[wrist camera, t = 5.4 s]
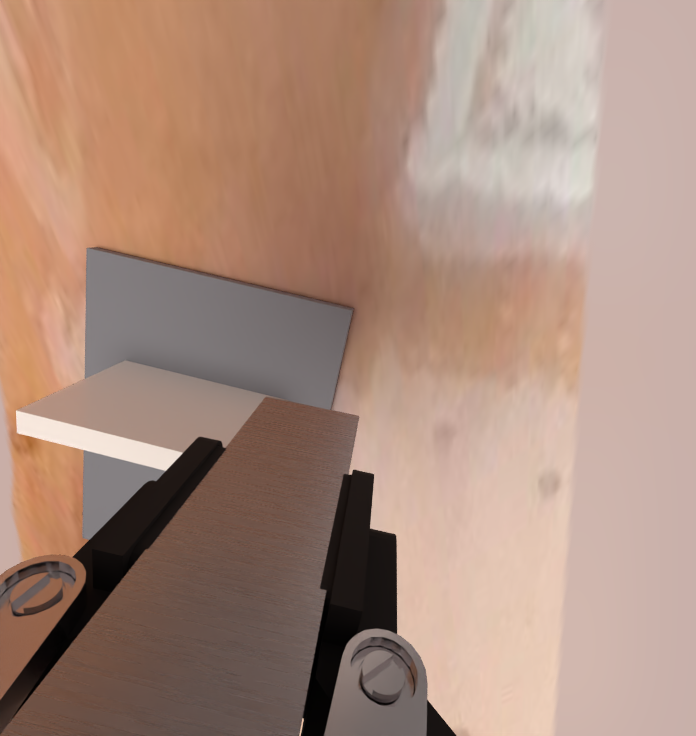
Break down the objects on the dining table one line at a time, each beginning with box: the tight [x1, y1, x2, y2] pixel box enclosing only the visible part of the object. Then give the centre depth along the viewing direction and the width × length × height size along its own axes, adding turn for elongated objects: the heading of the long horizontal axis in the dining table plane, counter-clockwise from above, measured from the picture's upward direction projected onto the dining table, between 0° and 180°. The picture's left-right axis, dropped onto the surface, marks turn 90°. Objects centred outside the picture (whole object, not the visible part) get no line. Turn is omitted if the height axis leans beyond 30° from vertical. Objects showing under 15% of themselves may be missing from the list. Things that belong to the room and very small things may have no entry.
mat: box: [83, 247, 354, 540], centre depth 31 cm, size 24×18×1 cm
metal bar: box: [0, 396, 359, 736], centre depth 8 cm, size 3×3×12 cm
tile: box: [16, 360, 289, 471], centre depth 25 cm, size 2×12×9 cm, turn 77°
